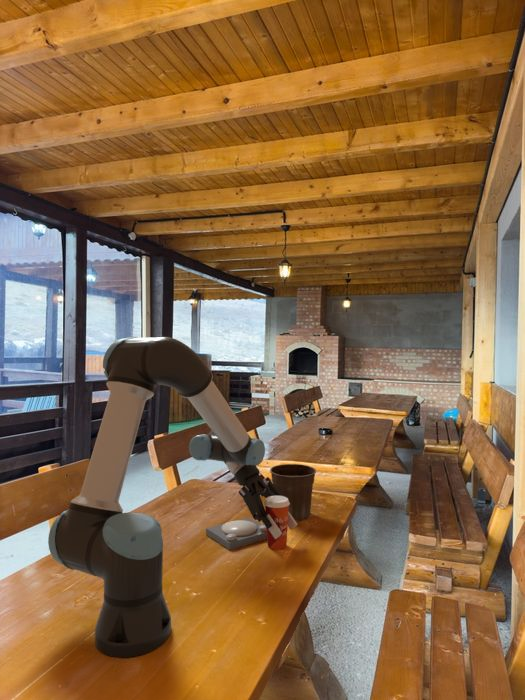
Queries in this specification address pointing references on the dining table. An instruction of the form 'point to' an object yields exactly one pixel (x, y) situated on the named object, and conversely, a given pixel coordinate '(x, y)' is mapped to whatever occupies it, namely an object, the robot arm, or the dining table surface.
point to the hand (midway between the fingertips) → (286, 531)
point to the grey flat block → (237, 533)
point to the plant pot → (295, 487)
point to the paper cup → (277, 520)
